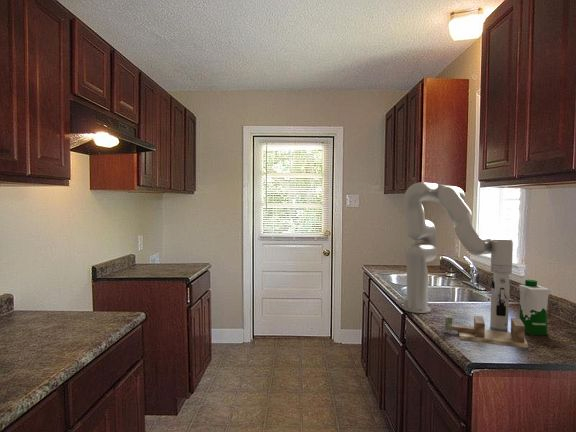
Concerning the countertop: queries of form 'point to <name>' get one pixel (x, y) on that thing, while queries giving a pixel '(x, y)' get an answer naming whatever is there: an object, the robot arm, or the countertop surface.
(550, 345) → the countertop surface
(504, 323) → the travel mug
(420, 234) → the robot arm
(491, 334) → the base
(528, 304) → the milk carton
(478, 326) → the sliding jaw
